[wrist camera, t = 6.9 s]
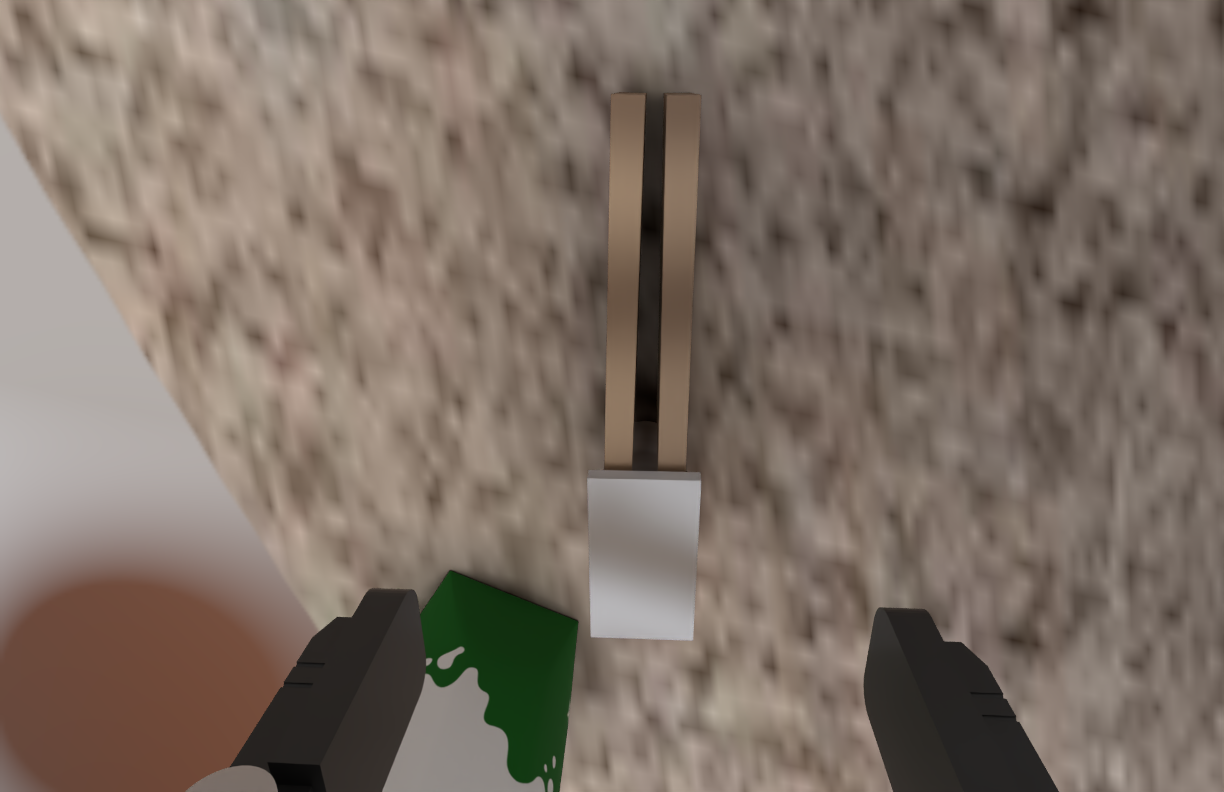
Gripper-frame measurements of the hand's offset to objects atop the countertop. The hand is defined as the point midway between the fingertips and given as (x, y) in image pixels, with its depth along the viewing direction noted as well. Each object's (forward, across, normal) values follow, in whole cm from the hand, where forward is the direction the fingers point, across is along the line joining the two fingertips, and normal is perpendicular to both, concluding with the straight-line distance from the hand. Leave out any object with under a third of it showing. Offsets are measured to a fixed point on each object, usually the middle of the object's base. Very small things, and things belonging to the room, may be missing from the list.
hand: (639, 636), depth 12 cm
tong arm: (+18, 0, -1) cm, 18 cm away
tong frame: (+19, 0, +1) cm, 19 cm away
